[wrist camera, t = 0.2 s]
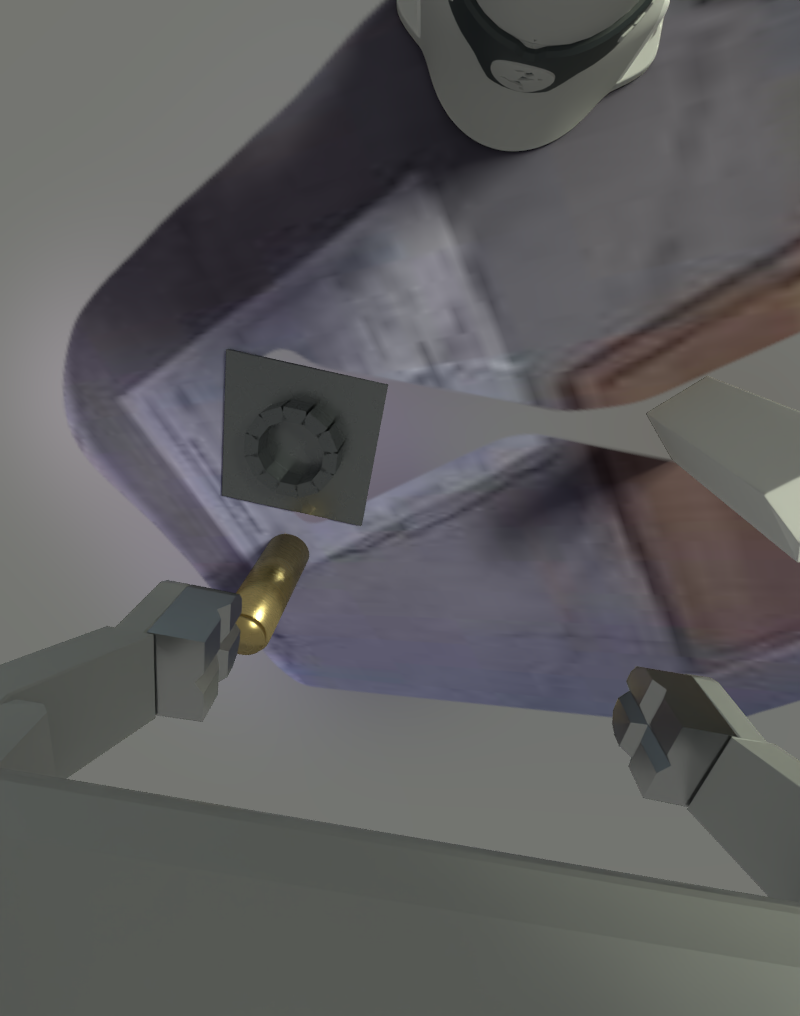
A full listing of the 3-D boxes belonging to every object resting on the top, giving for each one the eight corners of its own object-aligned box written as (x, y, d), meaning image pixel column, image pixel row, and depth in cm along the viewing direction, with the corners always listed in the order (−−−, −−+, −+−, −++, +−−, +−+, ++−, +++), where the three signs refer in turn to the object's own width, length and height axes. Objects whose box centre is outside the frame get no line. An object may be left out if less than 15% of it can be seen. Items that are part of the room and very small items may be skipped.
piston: (269, 530, 55) (214, 609, 42) (311, 539, 55) (269, 621, 42) (266, 564, 57) (213, 650, 44) (306, 573, 57) (265, 662, 44)
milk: (732, 425, 45) (958, 544, 25) (670, 460, 47) (835, 595, 27) (706, 373, 43) (928, 458, 23) (643, 412, 45) (799, 520, 25)
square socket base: (228, 348, 46) (212, 354, 43) (388, 384, 46) (383, 392, 43) (223, 493, 53) (210, 507, 50) (362, 523, 53) (356, 539, 50)
